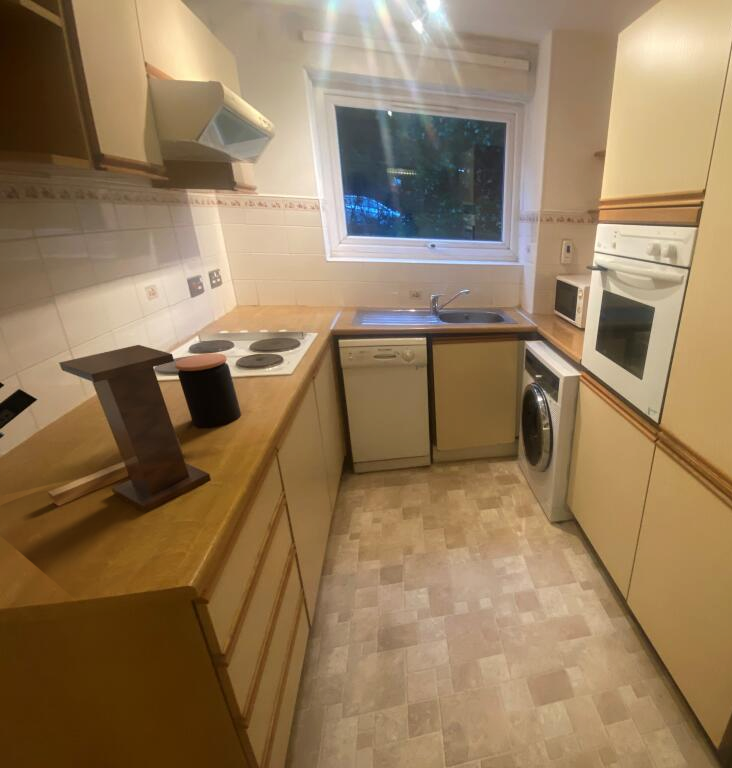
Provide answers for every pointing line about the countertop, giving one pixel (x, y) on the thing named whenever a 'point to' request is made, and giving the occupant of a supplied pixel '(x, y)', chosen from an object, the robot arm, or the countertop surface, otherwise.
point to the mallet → (90, 483)
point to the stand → (139, 424)
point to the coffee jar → (208, 390)
